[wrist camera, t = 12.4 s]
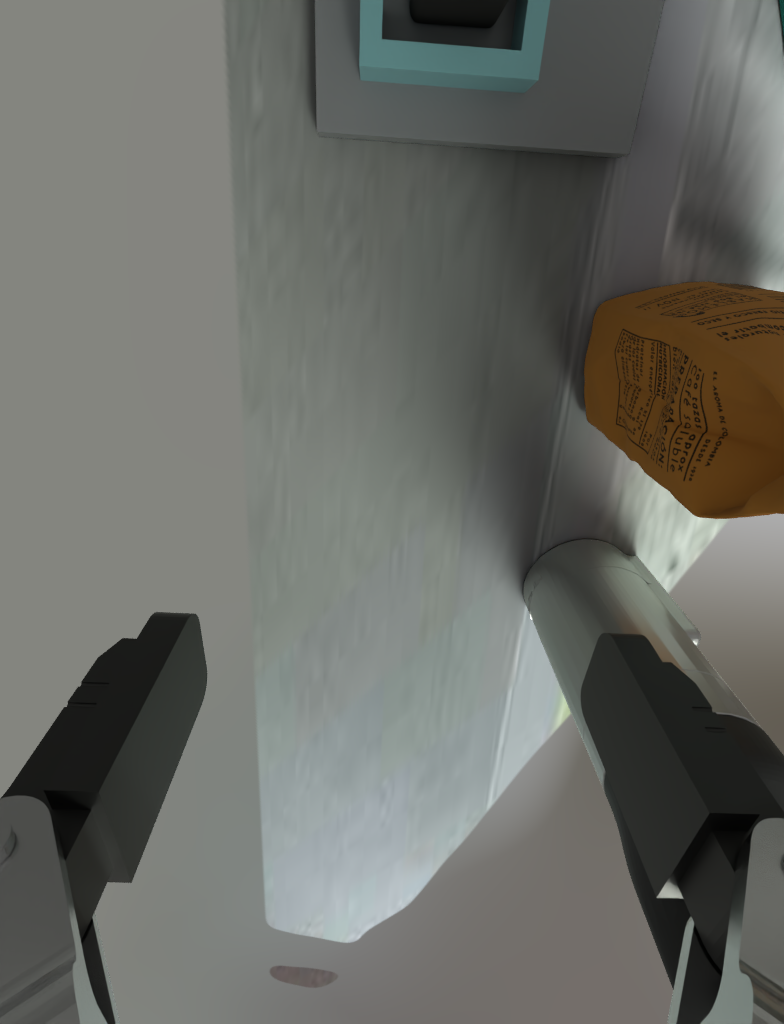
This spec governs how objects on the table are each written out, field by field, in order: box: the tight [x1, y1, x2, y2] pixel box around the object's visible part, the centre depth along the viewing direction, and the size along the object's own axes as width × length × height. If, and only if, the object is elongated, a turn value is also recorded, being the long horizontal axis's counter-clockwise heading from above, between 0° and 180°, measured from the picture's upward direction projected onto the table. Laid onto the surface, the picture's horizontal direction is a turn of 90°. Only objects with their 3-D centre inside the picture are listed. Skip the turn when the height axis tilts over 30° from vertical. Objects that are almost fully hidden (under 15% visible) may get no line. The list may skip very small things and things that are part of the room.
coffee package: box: [584, 282, 784, 519], centre depth 25 cm, size 10×12×22 cm
